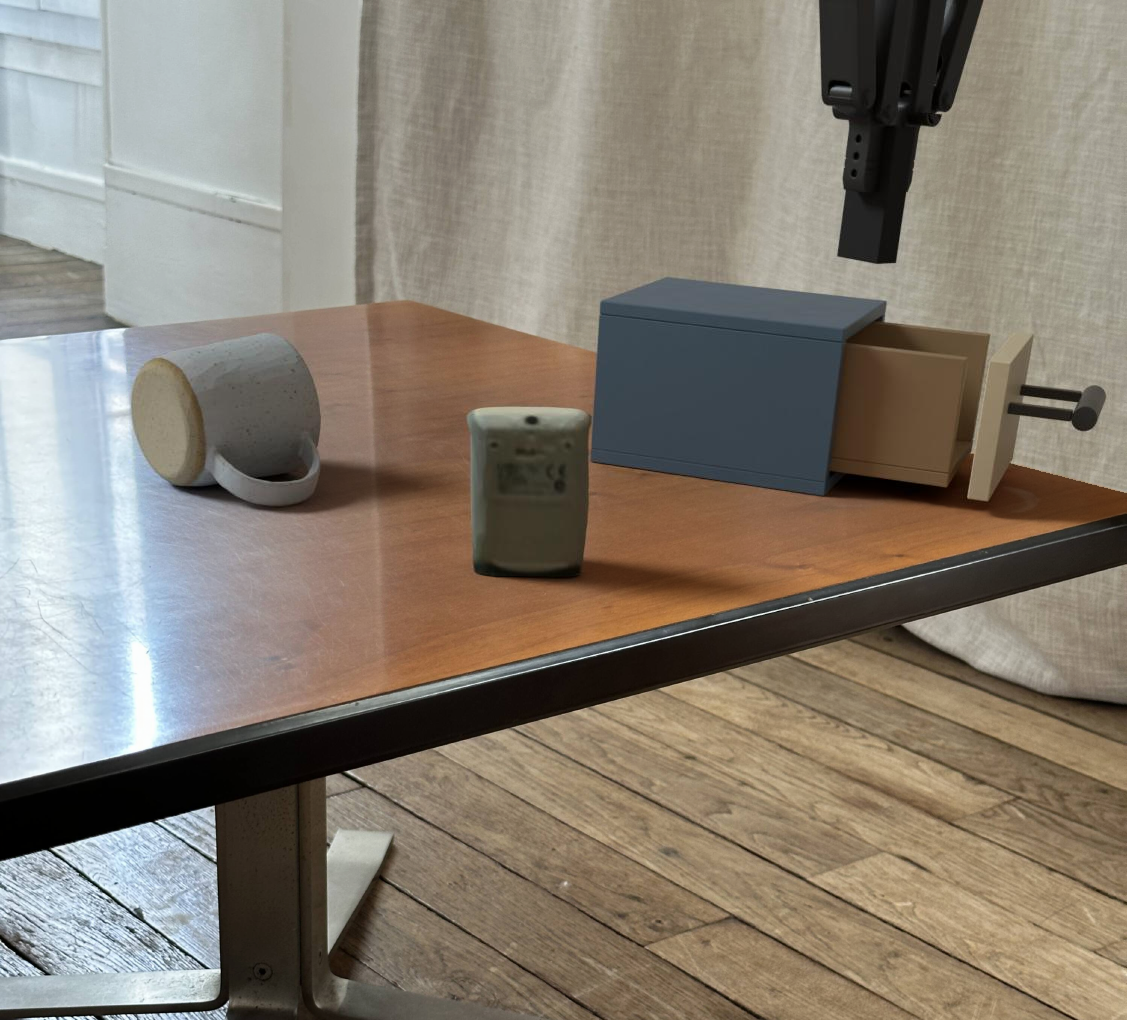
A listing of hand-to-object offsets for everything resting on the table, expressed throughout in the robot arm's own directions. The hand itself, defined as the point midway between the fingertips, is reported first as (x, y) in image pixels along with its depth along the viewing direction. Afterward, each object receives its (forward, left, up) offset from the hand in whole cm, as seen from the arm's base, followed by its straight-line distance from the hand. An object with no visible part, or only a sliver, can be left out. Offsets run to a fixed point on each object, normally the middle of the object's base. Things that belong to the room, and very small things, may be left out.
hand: (866, 259), depth 82 cm
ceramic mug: (+31, +10, -14) cm, 36 cm away
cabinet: (+9, -12, -14) cm, 20 cm away
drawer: (-3, -12, -13) cm, 18 cm away
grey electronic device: (+12, +17, -14) cm, 25 cm away
